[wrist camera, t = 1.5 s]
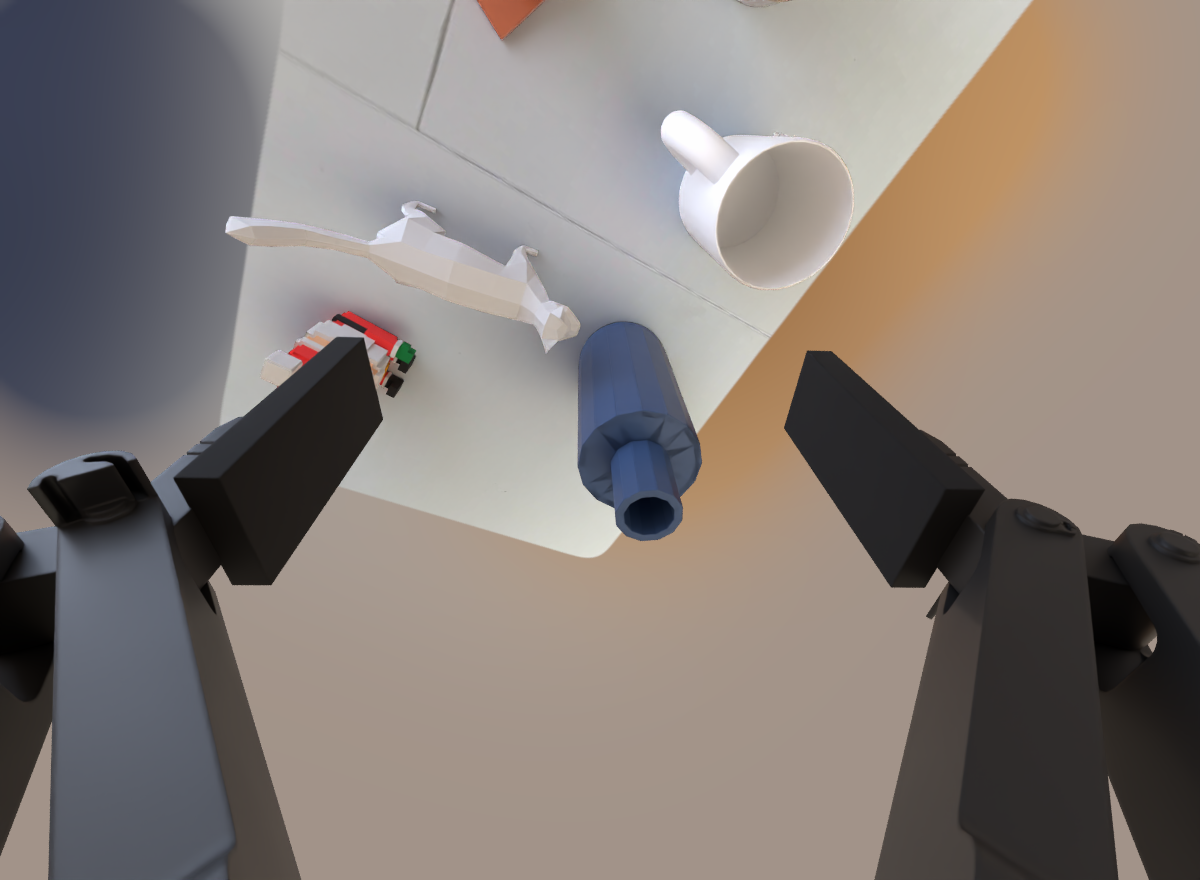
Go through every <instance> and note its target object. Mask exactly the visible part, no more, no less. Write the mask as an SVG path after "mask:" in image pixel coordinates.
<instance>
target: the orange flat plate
mask: <svg viewBox="0 0 1200 880" xmlns="http://www.w3.org/2000/svg"><path fill="white" fill-rule="evenodd" d="M477 1H478V3H479V4H480V6H481V8H482V9H483V11H484V13H485V14H486V16H487V17H488V19H489V21H490V22H491V24H492V26H493V27H494V29H495V30H496V32H497V34H498V35H499V37H500V39H501V40H504V39H505V38H506V37H507V36H508V35H509V34H510V33H511V32H512V31H513V30H514V29H516V28H517V27H518V26H519V25H520V24H521V23H522V22H523V21H524V20H525V19H526V18H527V17H528V16H529V15H530V14H532V13H533V12H534V11H535V10H536V9H537V8H538V7H539V6H540V5H541V4H542V3H543V2H544V1H545V0H477Z"/></svg>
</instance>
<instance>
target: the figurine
mask: <svg viewBox="0 0 1200 880" xmlns="http://www.w3.org/2000/svg"><path fill="white" fill-rule="evenodd" d="M336 337H364V340H365V344H366V349H367V353H368V357H369V362H370V366H371V370H372V374H373V379H374V383H375V387H376V390H377V388H378V386H379V384H380V385H382V386H381V387H382V388H384V387H386V388H388V391H387V393H386V394H387V395H389V396H391V397H393V398H394V397H395V395H396V394H397V392H398V391H399V389H400V388H401V386H402V384H403V382H404V380H402V379H400V378H398V377H396V376H394V375H392V372H389V373H388V372H386V371H387V369H388V367H389V365H390V363H389V362H390V360H392V361H393V362H392V363H394V364H395V363H398V364H400V366H399V368H398V370H400V371H402V372H403V373H405V374H406V372H407V371H408V369H409V368H410V367H411V365H412V363H413V361H414V359H415V357H416V356H414V354H415V352H416V350H414V349H413V348H411V345H410V344H408V343H406V342H403V341H402V340H400V339H399V340H397V337H396V336H394V335H392V334H391V333H389V332H387V331H385V330H383V329H381V328H379V327H377V326H376V325H374V324H372V323H370V322H368V321H366V320H364V319H362V318H361V317H359V316H357V315H355V314H353V313H351V312H349V311H348V312H347V313H345V312H344V313H343V314H342V315H340V314H337V315H336V316H334V317H333V319H332V321H330V320H327V321H326V322H325V323H322V322H321V321H320V322H319V323H317V324H316V325H315V326H313V327H312V328H311V329H309V330H308V331H307V332H306V334H305V337H303V338H302V339H301V338H299V339H298V340H296V342H295V344H294V347H293V350H291V351H290V352H289V354H287V353H285V352H283V351H281V350H279V351H276V352H274V353H273V354H271V355H270V356H269V357H267V358H266V359H265V361H264V364H263V368H262V371H261V374H260V377H261V379H263V380H265V381H268V382H270V383H272V384H274V385H276V386H277V388H278V387H279V386H280V385H281V384H282V383H283V382H285V381H286V380H287V379H288V378H289V377H290V376H291V375H293V374H294V373H295V372H296V371H297V370H298V369H300V368H301V367H302V366H303V365H304V364H305V363H307V362H308V361H309V360H310V359H311V358H312V357H314V356H315V355H316V354H317V353H318V352H319V351H321V350H322V349H323V348H324V347H325V346H326V345H327V344H329V343H330V342H331V341H332V340H333V339H334V338H336Z"/></svg>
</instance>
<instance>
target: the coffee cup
mask: <svg viewBox="0 0 1200 880" xmlns="http://www.w3.org/2000/svg"><path fill="white" fill-rule="evenodd" d="M737 1H739V2H741V3H743V4H745V5H748V6H752V7H765V6H770V5H773V4H776V3H779V2H786V1H791V0H737Z"/></svg>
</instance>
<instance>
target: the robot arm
mask: <svg viewBox="0 0 1200 880" xmlns="http://www.w3.org/2000/svg"><path fill="white" fill-rule="evenodd" d="M382 420H383V417H382V413H381V408H380V404H379V400H378V396H377V391H376V387H375V383H374V379H373V374H372V370H371V366H370V362H369V357H368V353H367V349H366V344H365V340H364V337H336V338H334V339H333V340H332V341H331V342H330V343H329V344H327V345H326V346H325V347H324V348H323V349H322V350H321V351H319V352H318V353H317V354H316V355H315V356H314V357H312V358H311V359H310V360H309V361H308V362H307V363H305V364H304V365H303V366H302V367H301V368H300V369H298V370H297V371H296V372H295V373H294V374H293V375H291V376H290V377H289V378H288V379H287V380H286V381H285V382H283V383H282V384H281V385H280V386H279V387H278V388H276V389H275V390H274V391H273V392H272V393H271V394H269V395H268V396H267V397H266V398H265V399H264V400H262V401H261V402H260V403H259V404H258V405H257V406H255V407H254V408H253V409H252V410H251V411H250V412H248V413H247V414H246V415H245V416H244V417H238V418H236V419H234V420H232V421H230V422H228V423H226V424H223V425H221V426H219V427H217V428H216V429H215V430H213V431H212V432H211V433H210V434H208V435H207V436H206V437H205V438H204V439H202V440H201V441H200V444H196V445H195V446H194V447H193V448H191V449H190V450H189V451H188V452H187V455H183V456H182V457H181V458H179V459H178V460H177V461H176V462H174V463H173V464H172V465H171V466H170V467H169V468H167V469H166V470H165V471H164V472H162V473H161V474H160V475H159V476H158V477H156V478H155V479H154V480H153V481H152V482H150V481H149V479H148V477H147V476H146V474H145V472H144V470H143V469H142V467H141V466H140V464H139V462H138V460H137V459H136V458H135V456H133V454H132V453H128V452H124V451H103V452H97V453H92V454H87V455H83V456H80V457H76V458H73V459H70V460H67V461H64V462H62V463H60V464H58V465H56V466H54V467H52V468H49V469H47V470H45V471H44V472H43V473H41V474H40V475H39V476H37V477H36V478H34V479H33V480H32V482H31V483H30V485H29V487H28V488H27V490H28V491H29V492H30V493H31V495H32V496H33V497H34V498H35V500H36V501H37V502H38V504H39V505H40V506H41V508H42V509H43V510H44V512H45V513H46V514H47V515H48V517H49V518H50V519H51V520H52V522H53V523H54V524H55V526H54V527H48V528H42V529H37V530H31V531H25V532H19V533H15V531H14V530H13V529H12V528H11V527H10V526H9V524H8V523H7V522H6V521H5V519H3V518H2V517H1V516H0V855H1V853H2V850H3V848H4V845H5V842H6V840H7V837H8V835H9V832H10V829H11V827H12V824H13V821H14V819H15V816H16V813H17V811H18V808H19V806H20V803H21V801H22V798H23V795H24V793H25V790H26V787H27V785H28V782H29V780H30V777H31V774H32V772H33V769H34V767H35V764H36V761H37V759H38V756H39V754H40V751H41V748H42V746H43V743H44V740H45V738H46V735H47V732H48V730H49V727H50V724H51V722H52V754H51V755H52V757H51V794H50V795H51V796H50V834H49V874H48V875H49V877H48V880H301V878H300V874H299V871H298V868H297V864H296V861H295V857H294V854H293V851H292V847H291V844H290V841H289V837H288V834H287V831H286V827H285V824H284V821H283V817H282V814H281V810H280V807H279V804H278V800H277V797H276V794H275V790H274V787H273V784H272V780H271V777H270V774H269V770H268V767H267V764H266V760H265V757H264V754H263V750H262V747H261V743H260V740H259V737H258V734H257V730H256V727H255V723H254V720H253V717H252V714H251V710H250V707H249V703H248V700H247V697H246V693H245V690H244V687H243V683H242V680H241V677H240V673H239V670H238V667H237V663H236V660H235V657H234V653H233V650H232V646H231V643H230V640H229V637H228V633H227V630H226V626H225V623H224V620H223V616H222V613H221V610H220V606H219V603H218V600H217V596H216V593H215V591H214V589H213V587H212V586H211V584H210V582H209V581H208V580H209V579H210V578H211V576H212V575H213V574H214V573H215V571H216V570H217V569H218V568H219V567H220V565H221V566H222V567H223V569H224V571H225V573H226V575H227V576H228V578H229V580H230V582H231V584H232V585H272V583H273V582H274V580H275V579H276V577H277V576H278V574H279V573H280V571H281V569H282V568H283V567H284V565H285V564H286V562H287V561H288V559H289V558H290V557H291V555H292V554H293V552H294V551H295V549H296V548H297V546H298V545H299V543H300V542H301V540H302V539H303V537H304V536H305V534H306V533H307V531H308V530H309V528H310V527H311V526H312V524H313V523H314V521H315V520H316V518H317V517H318V515H319V514H320V512H321V511H322V509H323V507H324V506H325V505H326V503H327V502H328V500H329V499H330V497H331V496H332V494H333V493H334V491H335V490H336V488H337V487H338V486H339V484H340V483H341V481H342V480H343V478H344V477H345V475H346V474H347V472H348V471H349V469H350V468H351V466H352V465H353V463H354V462H355V460H356V459H357V457H358V456H359V454H360V453H361V451H362V450H363V449H364V447H365V446H366V444H367V443H368V441H369V440H370V438H371V437H372V435H373V434H374V432H375V431H376V429H377V428H378V426H379V425H380V423H381V422H382ZM784 429H785V430H786V432H787V433H788V435H789V436H790V438H791V439H792V441H793V442H794V444H795V445H796V447H797V448H798V449H799V451H800V452H801V454H802V455H803V457H804V458H805V460H806V461H807V463H808V464H809V466H810V467H811V469H812V470H813V472H814V473H815V475H816V476H817V478H818V479H819V481H820V482H821V484H822V485H823V487H824V488H825V490H826V491H827V493H828V494H829V496H830V497H831V499H832V500H833V501H834V503H835V504H836V506H837V508H838V509H839V511H840V512H841V514H842V515H843V517H844V518H845V519H846V521H847V522H848V524H849V525H850V527H851V528H852V530H853V531H854V533H855V534H856V536H857V537H858V539H859V540H860V542H861V543H862V545H863V546H864V548H865V549H866V550H867V552H868V554H869V555H870V556H871V558H872V560H873V561H874V563H875V564H876V566H877V567H878V568H879V570H880V572H881V573H882V574H883V576H884V577H885V579H886V581H887V582H888V583H889V585H890V586H891V587H906V588H911V587H912V588H913V587H914V588H916V587H917V588H924V587H926V585H927V583H928V582H929V580H930V578H931V577H932V575H933V574H934V572H935V570H936V569H937V568H938V569H939V570H940V571H941V572H942V574H943V575H944V576H945V577H946V579H947V580H948V581H949V582H948V584H947V585H946V587H945V588H944V590H943V591H942V593H941V594H940V596H939V597H938V599H937V600H936V602H935V603H934V605H933V606H932V608H931V610H930V611H929V612H928V614H927V616H926V617H928V618H930V619H932V618H933V617H934V616H935V615H936V616H935V621H934V625H933V629H932V634H931V638H930V643H929V647H928V651H927V656H926V660H925V664H924V668H923V672H922V677H921V681H920V686H919V690H918V694H917V699H916V703H915V707H914V711H913V716H912V720H911V724H910V729H909V733H908V737H907V742H906V746H905V750H904V755H903V759H902V763H901V768H900V772H899V776H898V781H897V785H896V789H895V793H894V798H893V802H892V807H891V811H890V815H889V820H888V824H887V828H886V832H885V837H884V841H883V845H882V850H881V854H880V858H879V862H878V867H877V871H876V876H875V880H1118V871H1117V861H1116V852H1115V841H1114V831H1113V822H1112V813H1111V803H1110V793H1109V784H1108V776H1109V779H1110V781H1111V784H1112V786H1113V789H1114V791H1115V794H1116V797H1117V799H1118V802H1119V804H1120V807H1121V809H1122V812H1123V814H1124V817H1125V819H1126V822H1127V825H1128V827H1129V830H1130V832H1131V835H1132V837H1133V840H1134V842H1135V845H1136V848H1137V850H1138V853H1139V855H1140V858H1141V860H1142V863H1143V865H1144V868H1145V870H1146V873H1147V876H1148V878H1149V880H1200V544H1198V543H1197V541H1196V540H1194V539H1192V538H1190V537H1188V536H1186V535H1185V536H1183V534H1181V533H1179V532H1176V531H1174V530H1167V529H1164V528H1161V527H1158V526H1153V525H1147V524H1130V525H1129V526H1128V527H1127V528H1126V529H1125V530H1124V532H1123V533H1122V534H1121V535H1120V536H1119V537H1118V538H1117V539H1116V540H1115V541H1110V540H1105V539H1101V538H1096V537H1091V536H1086V535H1082V534H1081V532H1080V530H1079V528H1078V527H1077V526H1075V524H1073V523H1072V522H1071V521H1070V520H1069V519H1067V518H1066V517H1064V516H1063V515H1061V514H1059V513H1058V512H1056V511H1054V510H1052V509H1050V508H1047V507H1045V506H1043V505H1040V504H1037V503H1033V502H1030V501H1026V500H1020V499H1007V498H1006V497H1005V496H1003V495H1002V494H1001V493H1000V492H999V491H998V490H997V489H996V488H994V487H993V486H992V485H991V484H990V483H989V482H988V481H986V480H985V479H984V478H983V477H982V476H981V475H980V474H978V473H977V472H976V471H975V470H973V468H972V467H968V464H967V463H966V462H965V461H964V460H962V459H961V458H960V457H959V456H956V454H955V453H954V452H953V451H952V450H951V449H950V448H948V446H946V445H945V444H944V443H943V442H942V441H940V440H938V439H936V438H935V437H933V436H931V435H929V434H927V433H926V432H924V431H922V430H918V429H917V428H916V427H915V426H914V425H913V424H912V423H911V422H909V420H907V419H906V418H905V417H904V416H903V415H902V414H901V413H900V412H899V411H897V410H896V409H895V408H894V407H893V406H892V405H891V404H890V403H889V402H887V401H886V400H885V399H884V398H883V397H882V396H881V395H879V394H878V393H877V392H876V391H875V390H874V389H873V388H872V387H871V386H870V385H868V384H867V383H866V382H865V381H864V380H863V379H862V378H861V377H860V376H858V375H857V374H856V373H855V372H854V371H853V370H852V369H851V368H850V367H848V366H847V365H846V364H845V363H844V362H843V361H842V360H841V359H840V358H838V357H837V356H836V355H835V354H834V353H833V352H831V351H807V353H806V356H805V359H804V363H803V366H802V369H801V373H800V376H799V379H798V383H797V386H796V390H795V393H794V397H793V400H792V403H791V406H790V410H789V413H788V417H787V420H786V423H785V426H784ZM1156 636H1157V644H1156V647H1155V650H1154V652H1153V653H1152V651H1151V650H1150V648H1149V646H1148V643H1150V641H1152V640H1153V639H1154V638H1155V637H1156Z"/></svg>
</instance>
